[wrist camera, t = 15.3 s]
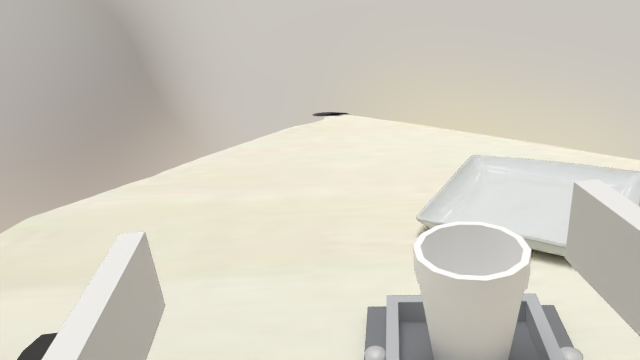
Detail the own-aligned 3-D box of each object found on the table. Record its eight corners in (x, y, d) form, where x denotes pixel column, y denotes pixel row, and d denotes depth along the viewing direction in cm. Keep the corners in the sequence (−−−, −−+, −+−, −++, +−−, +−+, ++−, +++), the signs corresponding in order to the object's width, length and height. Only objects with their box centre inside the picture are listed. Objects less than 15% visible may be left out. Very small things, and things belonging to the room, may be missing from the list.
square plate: (414, 239, 72) (413, 216, 70) (472, 171, 92) (472, 151, 91) (631, 284, 57) (636, 255, 56) (643, 191, 78) (647, 168, 76)
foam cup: (434, 324, 52) (431, 215, 47) (527, 345, 48) (535, 228, 43) (406, 390, 45) (399, 269, 40) (515, 421, 40) (523, 290, 35)
